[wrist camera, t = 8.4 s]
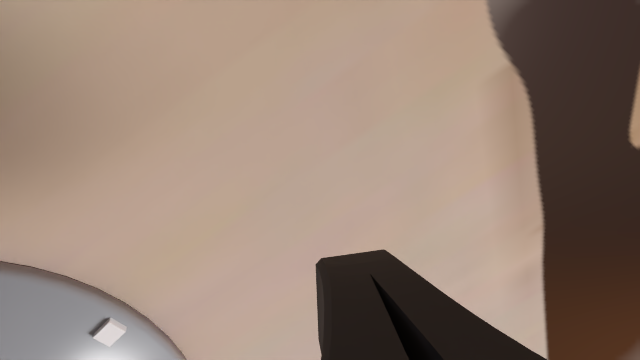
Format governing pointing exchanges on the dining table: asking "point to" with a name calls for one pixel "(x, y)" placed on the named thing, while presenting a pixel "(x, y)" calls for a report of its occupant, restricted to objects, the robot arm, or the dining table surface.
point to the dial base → (72, 321)
